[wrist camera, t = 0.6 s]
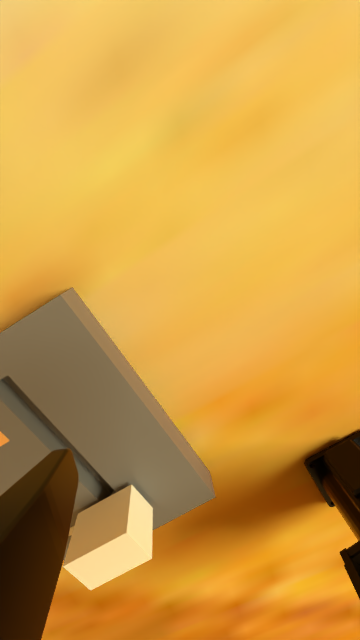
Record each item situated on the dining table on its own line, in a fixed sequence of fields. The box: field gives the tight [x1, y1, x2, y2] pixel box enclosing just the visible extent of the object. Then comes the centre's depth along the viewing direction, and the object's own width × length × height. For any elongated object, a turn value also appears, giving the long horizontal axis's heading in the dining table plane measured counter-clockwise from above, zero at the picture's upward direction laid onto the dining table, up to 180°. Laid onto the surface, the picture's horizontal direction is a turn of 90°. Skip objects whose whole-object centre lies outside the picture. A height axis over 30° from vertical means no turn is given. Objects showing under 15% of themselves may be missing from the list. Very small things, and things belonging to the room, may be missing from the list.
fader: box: [63, 484, 153, 590], centre depth 21 cm, size 3×5×5 cm, turn 121°
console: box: [0, 287, 215, 561], centre depth 21 cm, size 20×14×3 cm
